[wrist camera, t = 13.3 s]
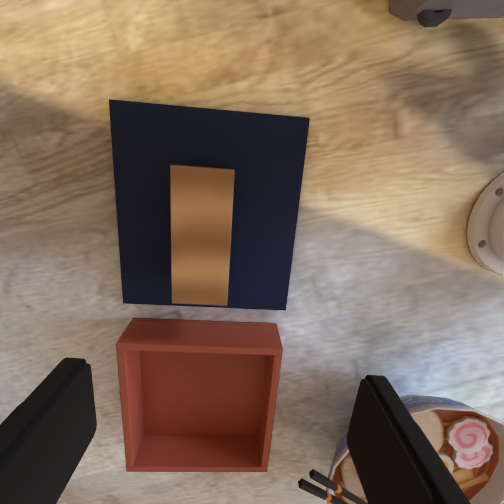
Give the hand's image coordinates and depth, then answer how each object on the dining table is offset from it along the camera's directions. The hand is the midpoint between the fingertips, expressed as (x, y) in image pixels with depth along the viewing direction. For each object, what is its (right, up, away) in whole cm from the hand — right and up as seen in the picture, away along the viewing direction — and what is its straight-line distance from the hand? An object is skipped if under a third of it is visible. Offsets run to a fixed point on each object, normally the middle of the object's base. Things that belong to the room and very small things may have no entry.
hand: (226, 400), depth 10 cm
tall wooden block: (-4, +8, +19) cm, 21 cm away
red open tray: (-5, -11, +25) cm, 28 cm away
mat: (-4, +9, +19) cm, 21 cm away
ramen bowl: (+20, -19, +29) cm, 41 cm away
